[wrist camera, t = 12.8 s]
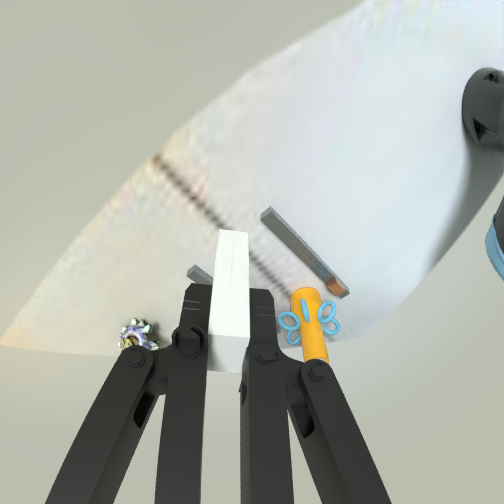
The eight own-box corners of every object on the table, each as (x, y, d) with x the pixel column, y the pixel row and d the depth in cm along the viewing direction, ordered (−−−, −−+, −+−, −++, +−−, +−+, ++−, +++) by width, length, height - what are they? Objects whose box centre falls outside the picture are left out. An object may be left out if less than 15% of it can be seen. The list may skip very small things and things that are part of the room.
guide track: (187, 270, 52) (185, 280, 50) (270, 206, 44) (271, 214, 42) (272, 330, 63) (273, 339, 61) (347, 288, 56) (351, 297, 54)
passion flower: (141, 302, 65) (141, 319, 54) (173, 331, 69) (180, 352, 58) (111, 334, 63) (107, 355, 52) (144, 361, 67) (146, 386, 56)
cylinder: (334, 309, 59) (350, 370, 48) (287, 321, 61) (294, 384, 50) (325, 268, 52) (344, 335, 40) (270, 283, 54) (276, 352, 42)
